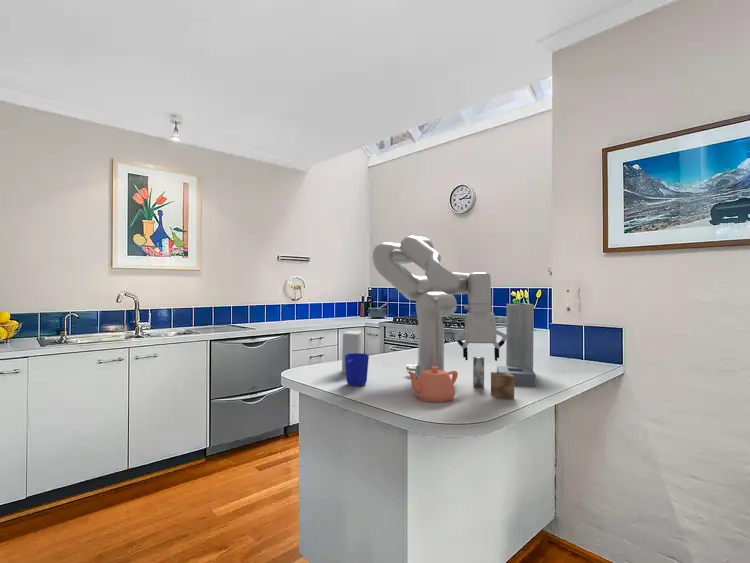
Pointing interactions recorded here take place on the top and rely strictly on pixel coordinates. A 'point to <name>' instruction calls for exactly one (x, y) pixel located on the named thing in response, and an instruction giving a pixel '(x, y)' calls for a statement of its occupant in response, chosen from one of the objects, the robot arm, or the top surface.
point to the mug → (356, 368)
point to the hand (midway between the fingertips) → (481, 359)
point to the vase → (519, 335)
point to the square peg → (502, 385)
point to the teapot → (434, 385)
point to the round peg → (478, 372)
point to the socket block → (520, 375)
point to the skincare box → (350, 345)
